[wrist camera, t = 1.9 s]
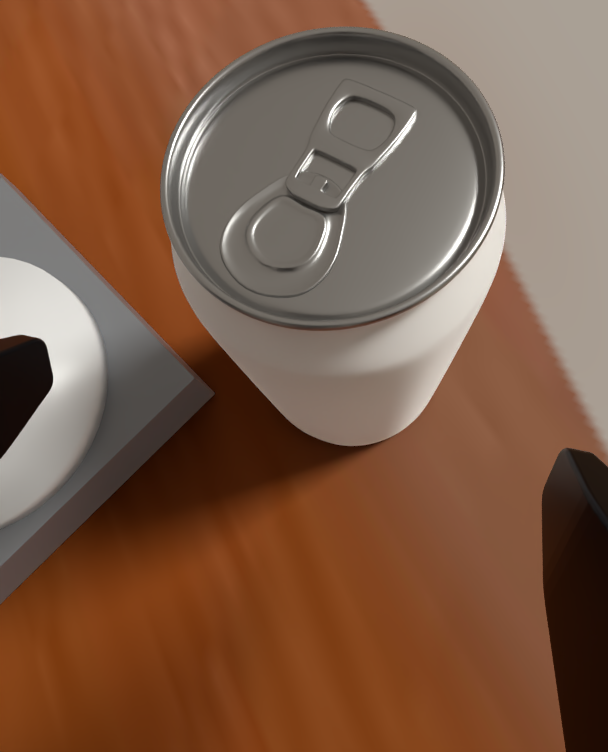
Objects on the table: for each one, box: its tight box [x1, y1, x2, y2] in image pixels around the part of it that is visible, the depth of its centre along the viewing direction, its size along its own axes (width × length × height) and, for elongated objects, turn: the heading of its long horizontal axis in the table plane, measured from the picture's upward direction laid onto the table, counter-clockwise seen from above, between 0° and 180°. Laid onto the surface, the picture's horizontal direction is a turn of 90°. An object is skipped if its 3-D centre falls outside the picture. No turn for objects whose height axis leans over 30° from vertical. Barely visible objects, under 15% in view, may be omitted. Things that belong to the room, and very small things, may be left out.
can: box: [160, 27, 506, 446], centre depth 14 cm, size 6×6×12 cm
